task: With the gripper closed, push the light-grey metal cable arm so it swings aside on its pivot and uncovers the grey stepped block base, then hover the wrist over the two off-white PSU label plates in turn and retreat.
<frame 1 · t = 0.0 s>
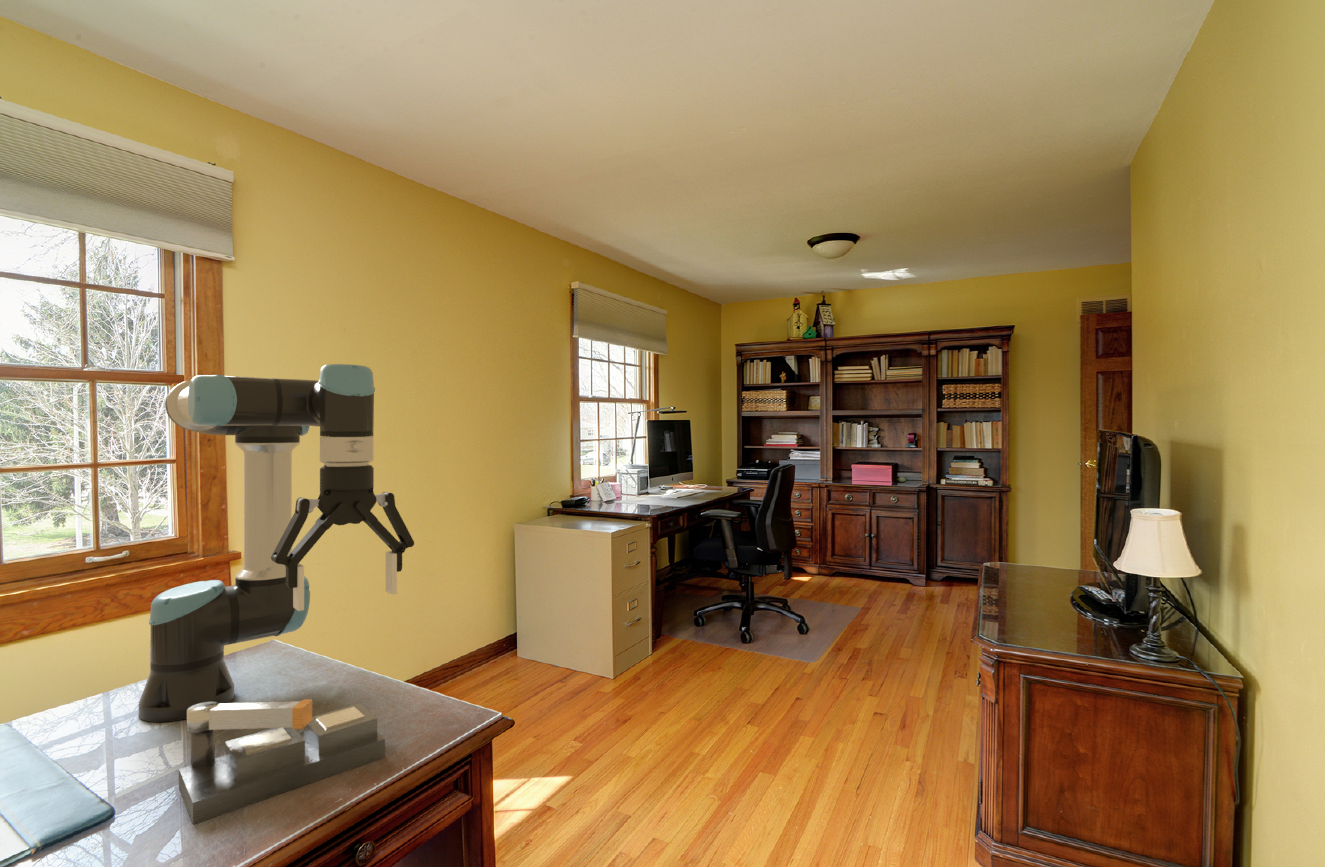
hand: (347, 600, 100), 28 cm above the table, fingers open, 13 cm apart
grey stepped block base: (286, 771, 101), on the table
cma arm: (248, 715, 99), point 10 cm above the table, hinge at 50.0°
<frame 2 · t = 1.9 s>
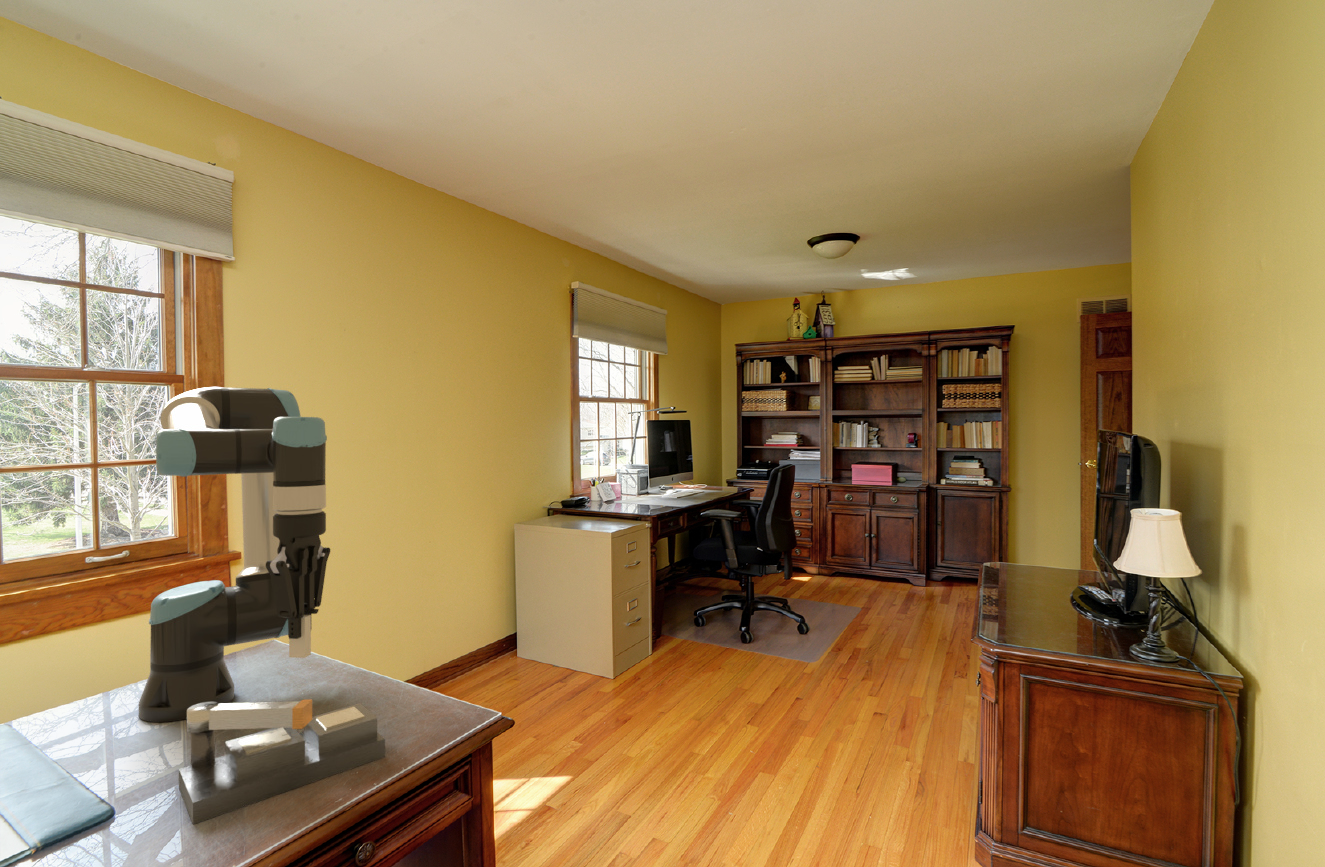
hand: (300, 655, 104), 17 cm above the table, fingers closed
nothing on the table moved.
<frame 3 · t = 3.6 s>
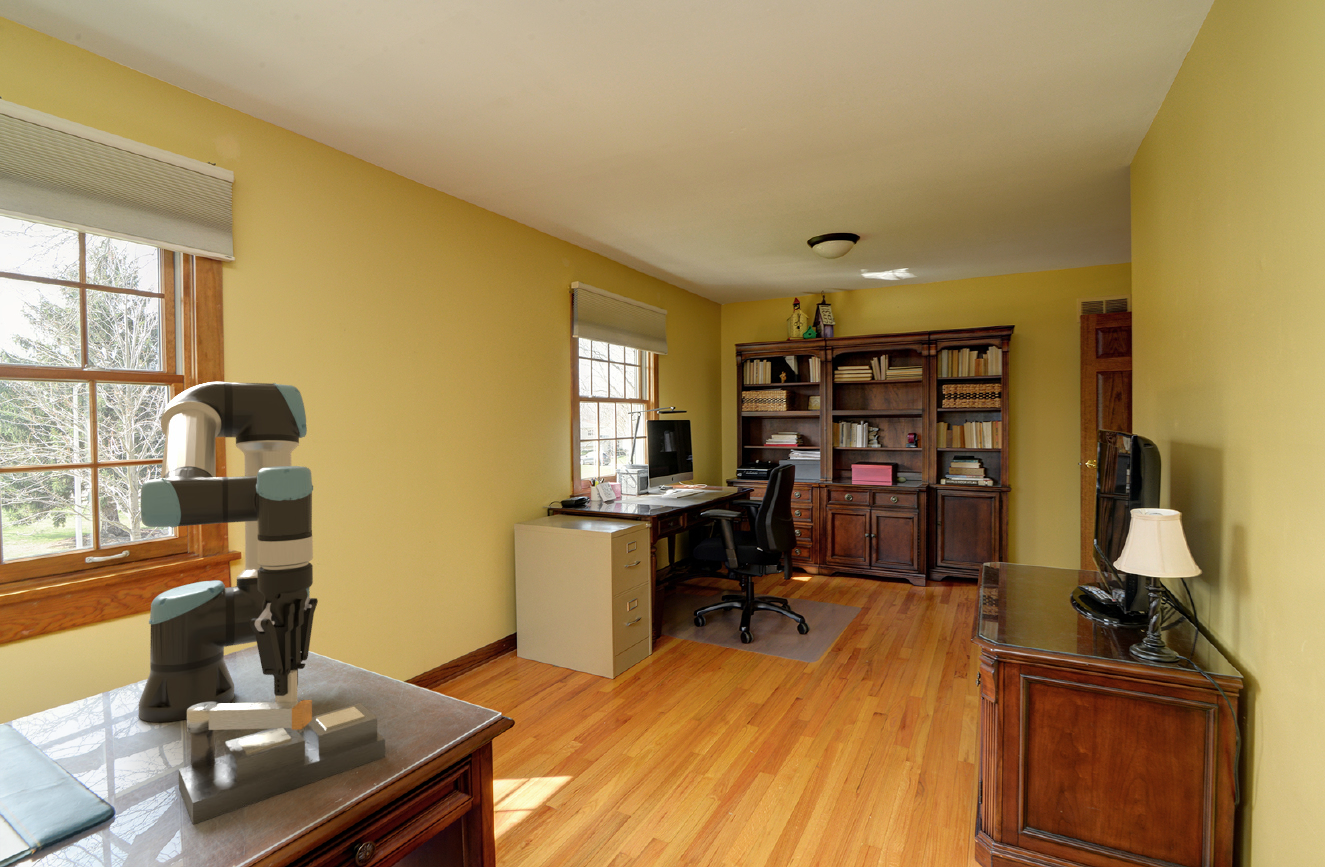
hand: (286, 712, 101), 10 cm above the table, fingers closed
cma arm: (248, 715, 99), point 10 cm above the table, hinge at 49.3°, touching gripper
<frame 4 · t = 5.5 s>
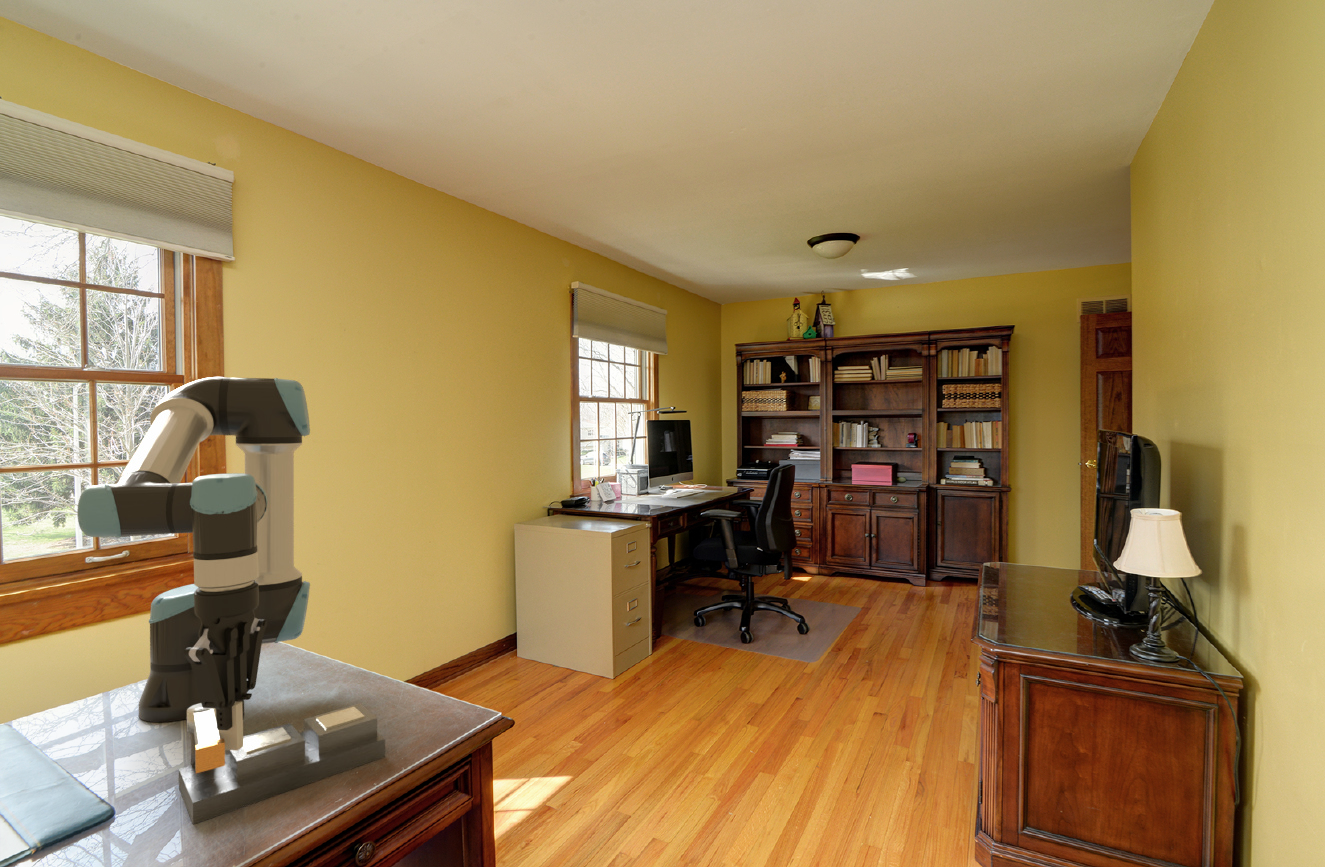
hand: (231, 747, 91), 9 cm above the table, fingers closed
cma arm: (206, 733, 93), point 10 cm above the table, hinge at -5.7°, touching gripper
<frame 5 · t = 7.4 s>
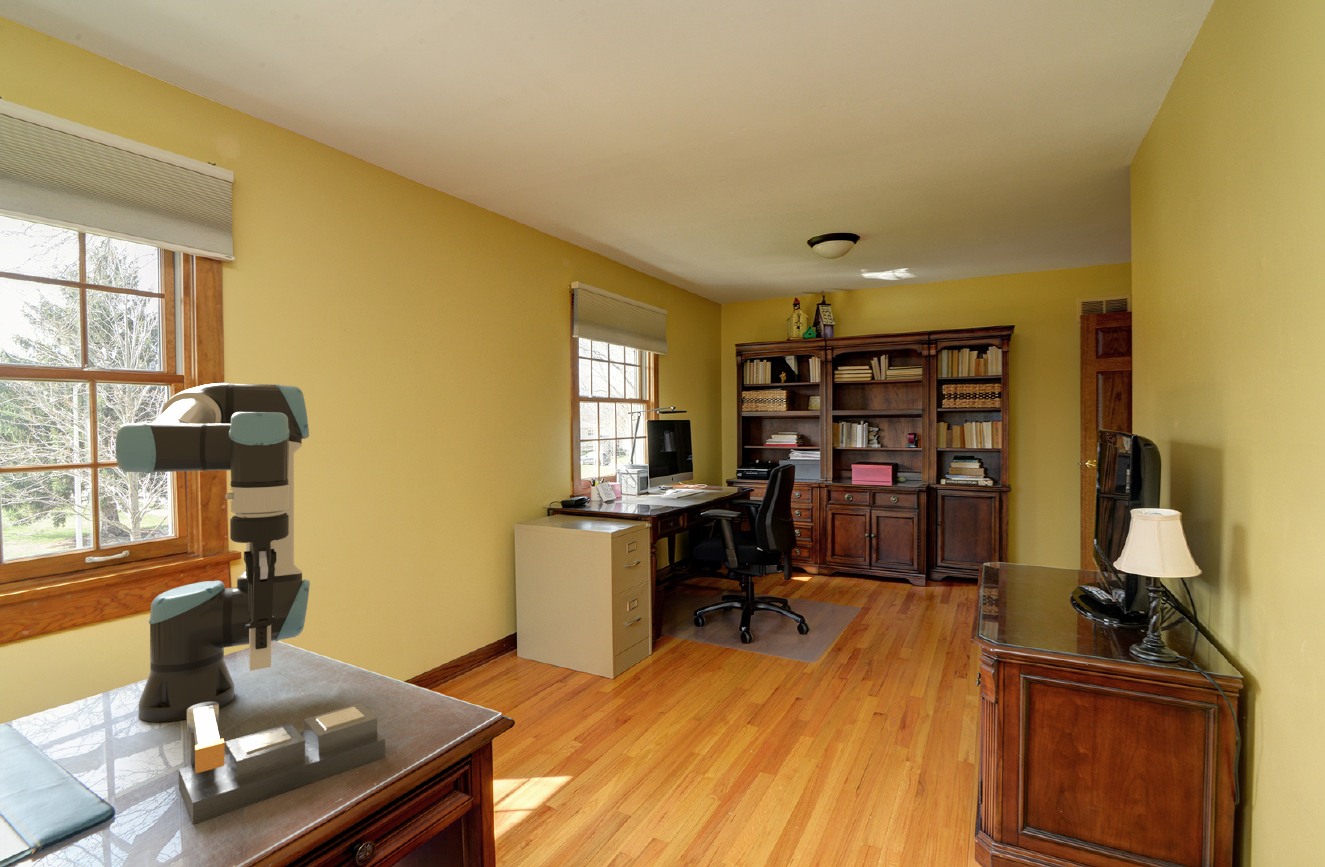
hand: (260, 667, 98), 18 cm above the table, fingers closed
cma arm: (205, 733, 93), point 10 cm above the table, hinge at -5.9°
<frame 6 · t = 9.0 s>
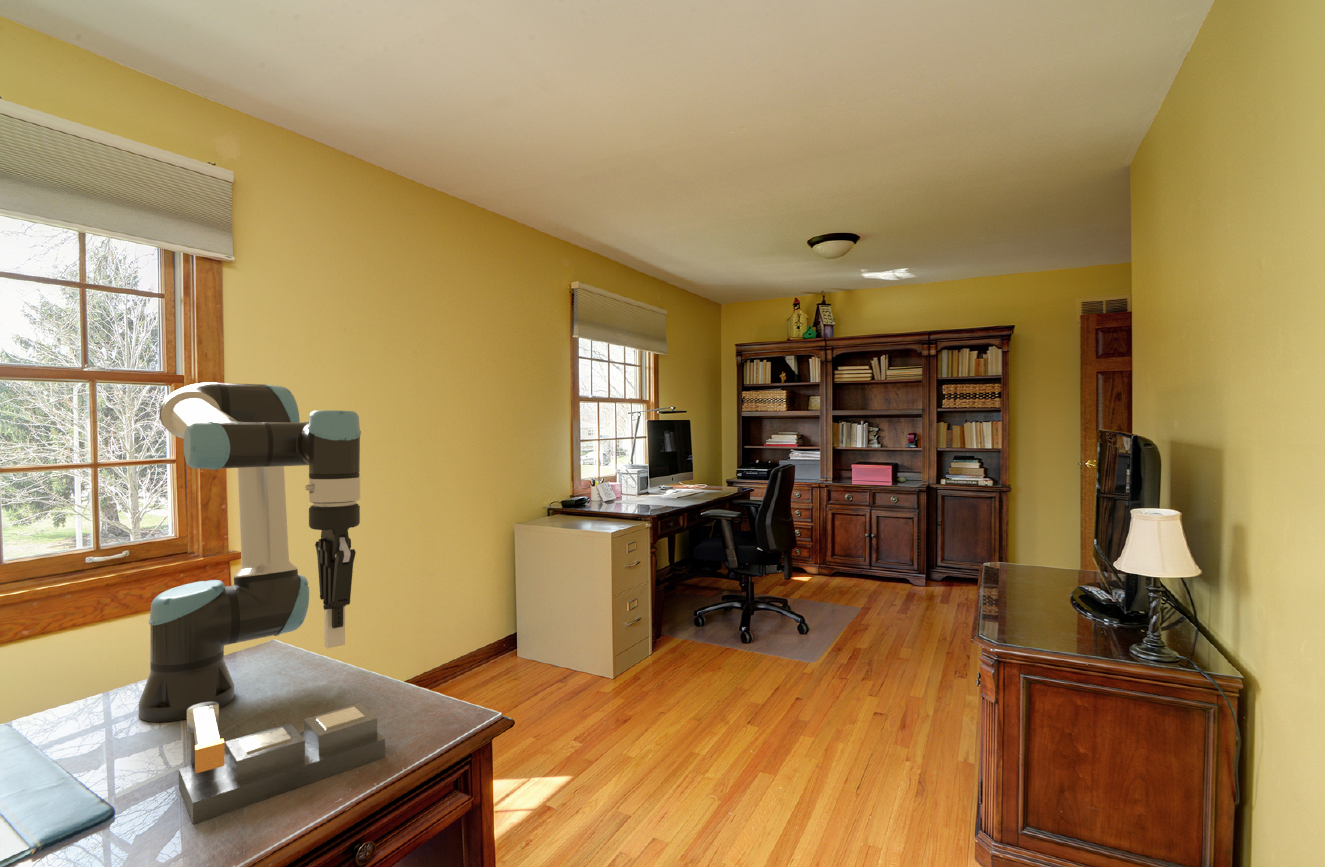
hand: (334, 645, 106), 19 cm above the table, fingers closed
nothing on the table moved.
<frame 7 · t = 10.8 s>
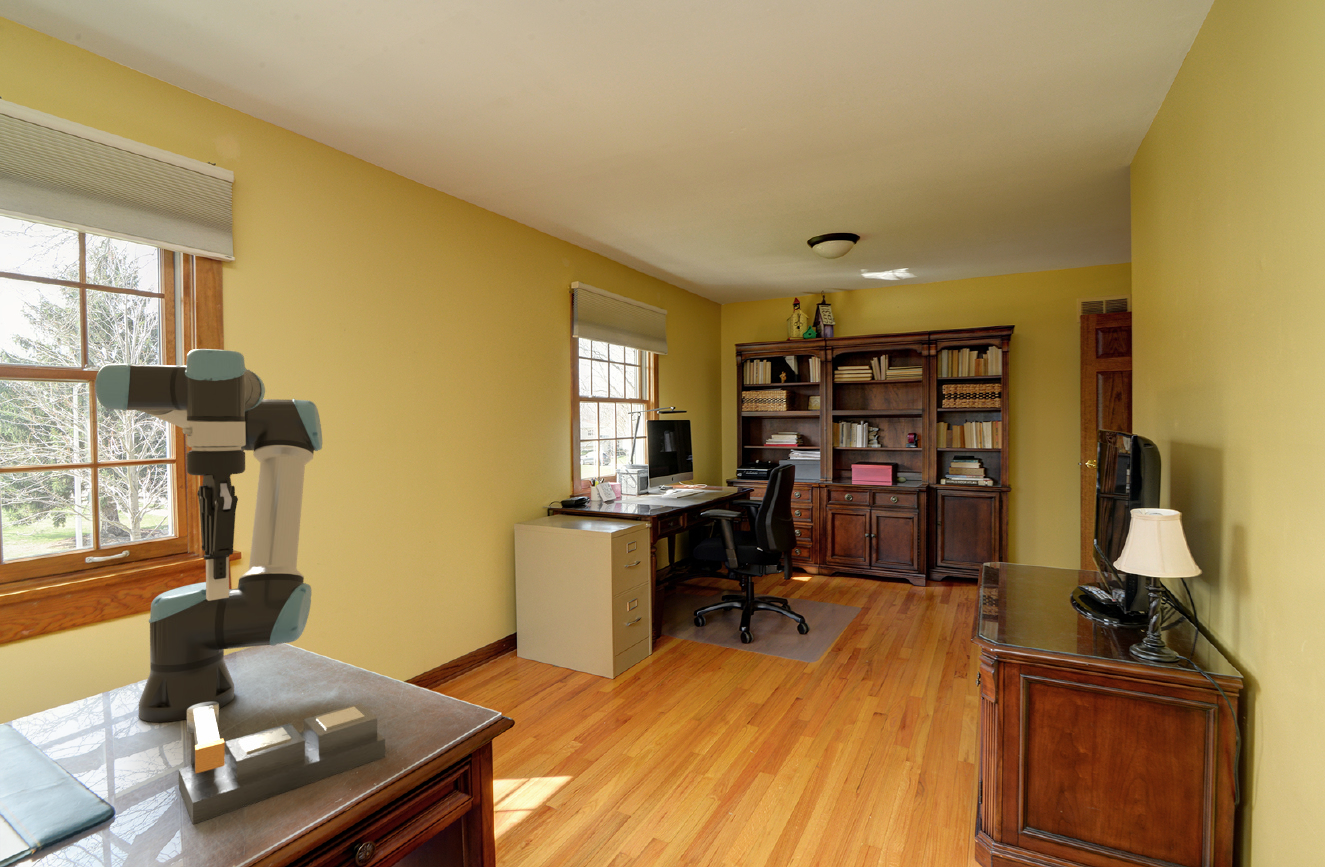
hand: (217, 597, 101), 28 cm above the table, fingers closed
nothing on the table moved.
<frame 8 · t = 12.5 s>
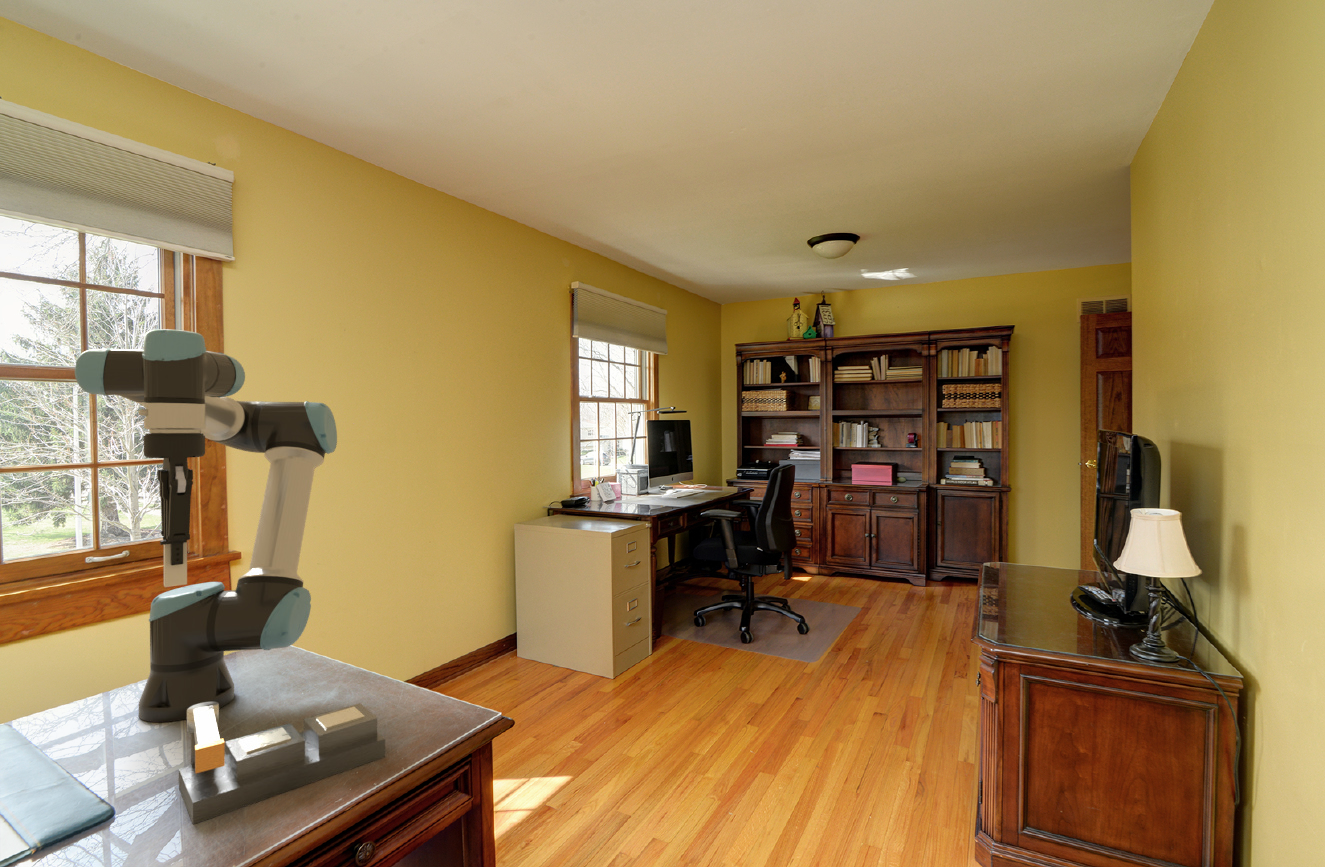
hand: (175, 584, 98), 30 cm above the table, fingers closed
nothing on the table moved.
at the end: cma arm at -6° (first picture: +50°) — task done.
